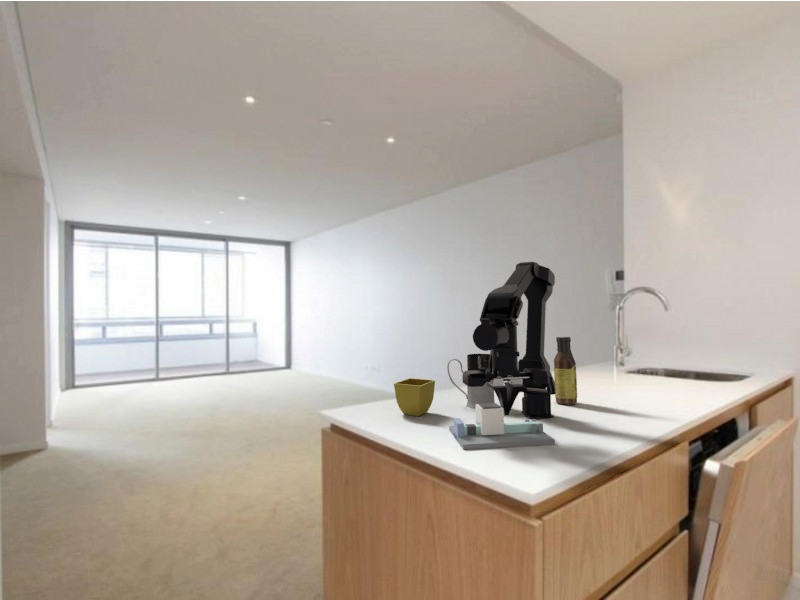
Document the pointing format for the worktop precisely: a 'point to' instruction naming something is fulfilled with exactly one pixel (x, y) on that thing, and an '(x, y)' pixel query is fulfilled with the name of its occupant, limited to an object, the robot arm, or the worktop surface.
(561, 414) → the worktop surface
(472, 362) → the glass holder
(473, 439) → the comb board
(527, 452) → the worktop surface
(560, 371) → the sauce bottle
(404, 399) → the flower pot
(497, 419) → the sleeve
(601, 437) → the worktop surface
